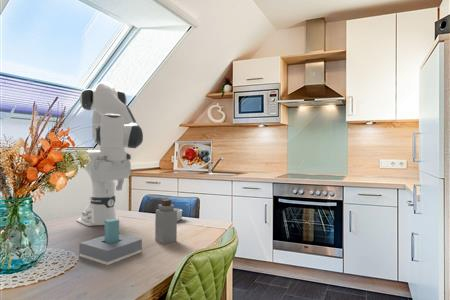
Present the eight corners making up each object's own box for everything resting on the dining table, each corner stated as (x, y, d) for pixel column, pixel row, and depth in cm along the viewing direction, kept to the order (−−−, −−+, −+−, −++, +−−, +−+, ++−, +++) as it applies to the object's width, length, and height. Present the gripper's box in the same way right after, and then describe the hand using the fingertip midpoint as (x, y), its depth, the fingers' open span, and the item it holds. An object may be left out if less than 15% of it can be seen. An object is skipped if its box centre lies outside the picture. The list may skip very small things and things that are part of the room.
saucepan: (182, 214, 188) (182, 205, 188) (182, 222, 168) (182, 212, 168) (163, 214, 187) (163, 205, 186) (160, 223, 167) (161, 212, 167)
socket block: (79, 256, 115) (79, 242, 115) (114, 244, 129) (114, 232, 129) (107, 265, 107) (107, 250, 107) (141, 251, 120) (142, 239, 120)
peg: (104, 251, 118) (104, 219, 118) (114, 248, 121) (115, 218, 120) (108, 253, 115) (108, 221, 115) (118, 251, 118) (119, 220, 117)
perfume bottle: (155, 240, 136) (155, 199, 135) (168, 237, 140) (169, 198, 140) (162, 244, 130) (163, 201, 130) (176, 241, 135) (176, 200, 135)
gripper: (102, 156, 106) (102, 196, 107) (133, 155, 126) (133, 188, 127) (86, 156, 108) (86, 195, 108) (119, 155, 128) (119, 188, 128)
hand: (112, 192), depth 117 cm, fingers open, 8 cm apart
